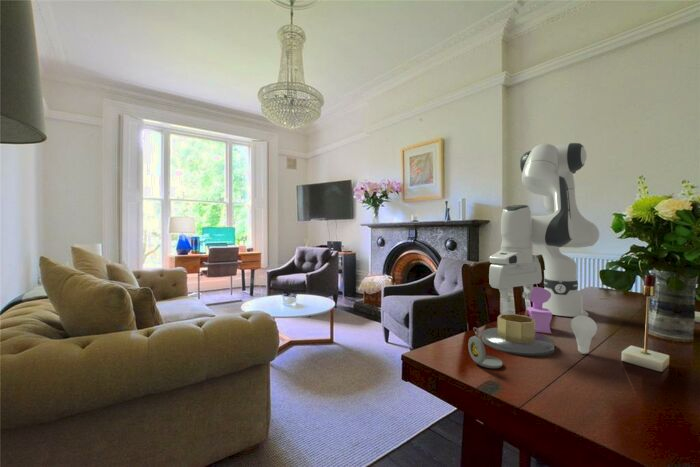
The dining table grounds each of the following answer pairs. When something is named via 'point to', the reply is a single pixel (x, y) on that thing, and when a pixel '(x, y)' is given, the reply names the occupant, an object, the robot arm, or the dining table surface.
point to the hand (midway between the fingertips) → (516, 299)
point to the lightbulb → (583, 332)
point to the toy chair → (540, 309)
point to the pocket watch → (481, 353)
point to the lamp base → (517, 337)
